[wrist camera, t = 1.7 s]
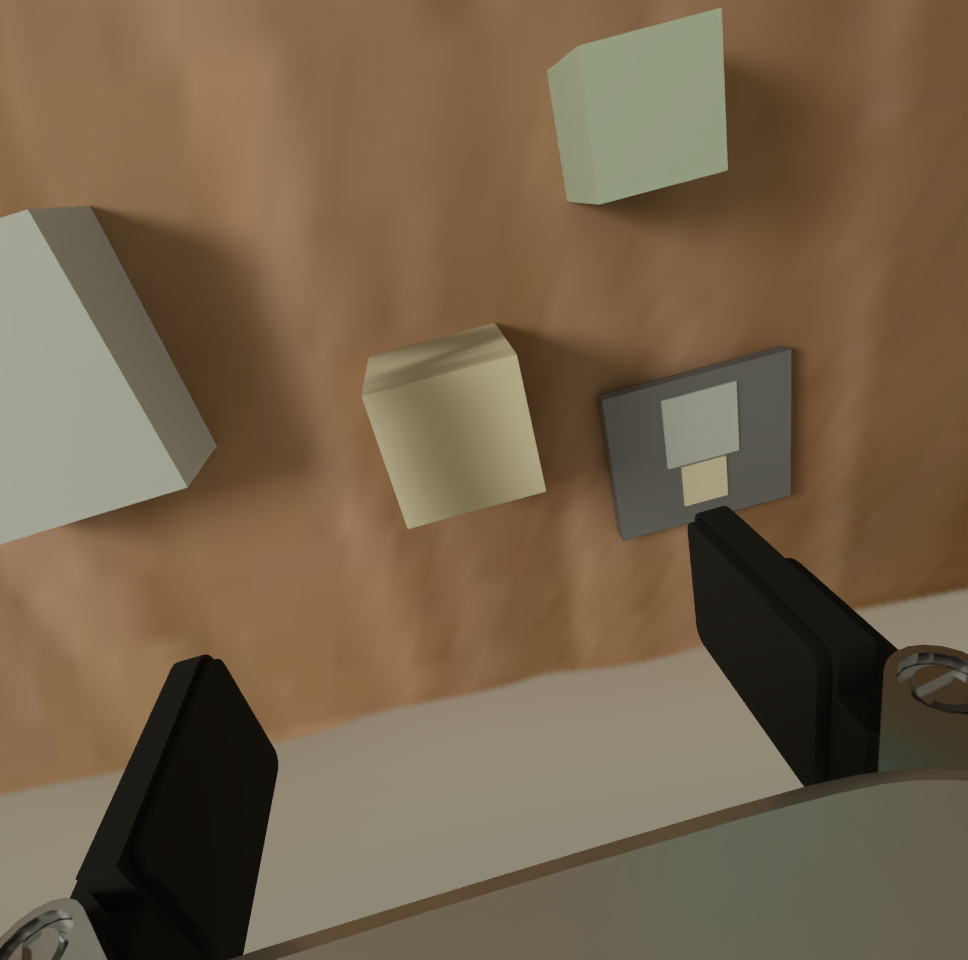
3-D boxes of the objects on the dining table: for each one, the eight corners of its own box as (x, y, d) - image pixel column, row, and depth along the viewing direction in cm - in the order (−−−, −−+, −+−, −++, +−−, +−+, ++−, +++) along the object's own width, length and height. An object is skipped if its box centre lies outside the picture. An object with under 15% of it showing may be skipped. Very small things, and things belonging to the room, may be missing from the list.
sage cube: (663, 40, 20) (721, 7, 16) (673, 173, 21) (727, 170, 18) (546, 71, 20) (578, 45, 16) (566, 201, 21) (599, 204, 18)
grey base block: (94, 205, 20) (27, 209, 16) (219, 442, 24) (187, 487, 20) (-163, 283, 20) (-285, 305, 16) (6, 507, 24) (-63, 562, 20)
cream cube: (494, 322, 23) (516, 354, 19) (520, 438, 25) (546, 491, 21) (369, 356, 23) (361, 396, 18) (406, 468, 25) (407, 529, 21)
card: (783, 345, 25) (792, 349, 24) (783, 489, 28) (792, 496, 27) (597, 395, 25) (602, 401, 24) (619, 534, 28) (624, 541, 27)
